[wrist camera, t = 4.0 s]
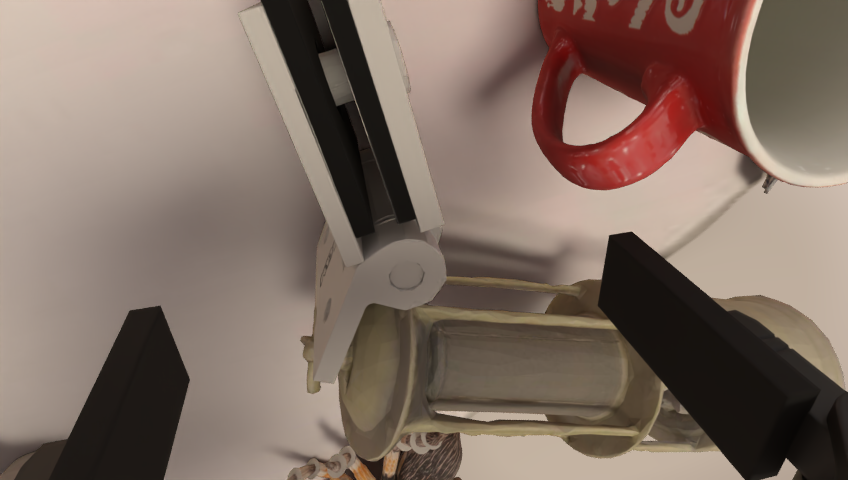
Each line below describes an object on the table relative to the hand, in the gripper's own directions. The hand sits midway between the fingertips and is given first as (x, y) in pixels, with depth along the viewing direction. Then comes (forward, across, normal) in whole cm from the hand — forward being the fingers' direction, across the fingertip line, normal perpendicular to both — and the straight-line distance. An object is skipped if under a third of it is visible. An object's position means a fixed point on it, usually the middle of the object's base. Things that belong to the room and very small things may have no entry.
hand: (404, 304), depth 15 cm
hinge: (+2, -1, +2) cm, 3 cm away
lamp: (+8, +24, -17) cm, 30 cm away
